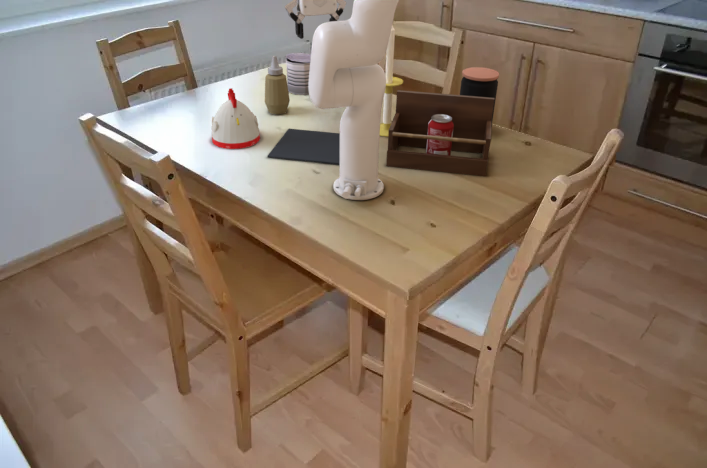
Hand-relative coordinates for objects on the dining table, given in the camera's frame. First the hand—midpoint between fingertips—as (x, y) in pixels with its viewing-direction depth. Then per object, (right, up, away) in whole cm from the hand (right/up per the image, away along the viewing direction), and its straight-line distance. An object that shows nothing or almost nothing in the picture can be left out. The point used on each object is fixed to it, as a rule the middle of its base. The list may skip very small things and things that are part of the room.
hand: (316, 35), depth 160 cm
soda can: (+33, -34, +2) cm, 48 cm away
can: (-8, -3, +49) cm, 50 cm away
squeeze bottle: (-15, -15, +30) cm, 37 cm away
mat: (0, -30, +7) cm, 30 cm away
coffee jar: (+47, -23, +19) cm, 56 cm away
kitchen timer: (-24, -27, +11) cm, 38 cm away
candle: (+20, -23, +19) cm, 36 cm away
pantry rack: (+33, -34, +2) cm, 47 cm away
